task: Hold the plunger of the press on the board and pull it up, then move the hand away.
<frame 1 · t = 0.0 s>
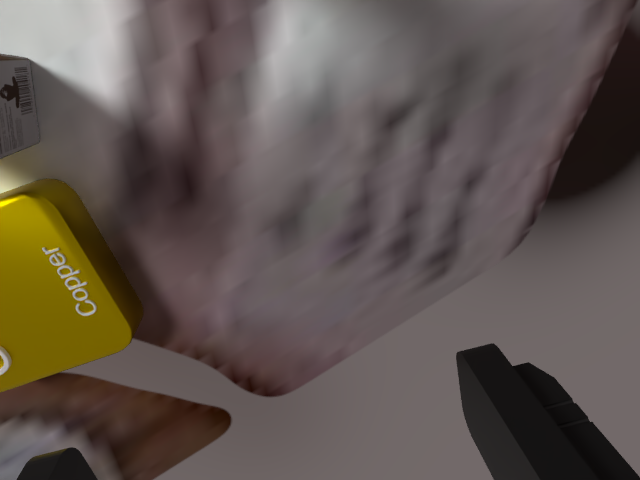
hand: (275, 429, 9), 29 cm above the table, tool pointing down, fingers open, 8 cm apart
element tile: (34, 276, 39), on the table
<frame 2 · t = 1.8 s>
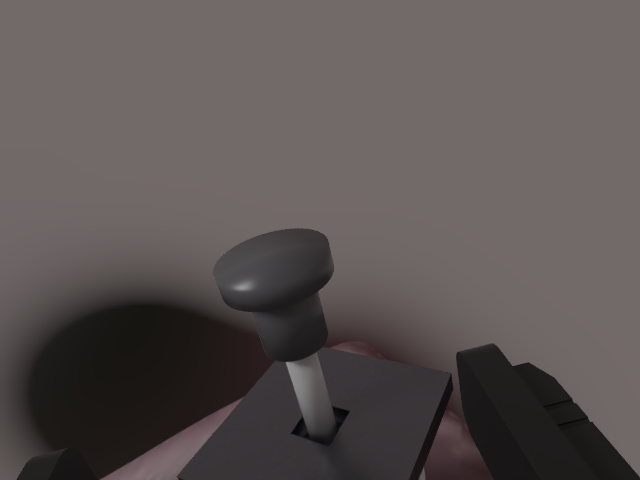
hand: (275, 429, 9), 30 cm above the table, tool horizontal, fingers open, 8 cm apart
plunger: (300, 353, 22), point 23 cm above the table, slide at 0.0 cm
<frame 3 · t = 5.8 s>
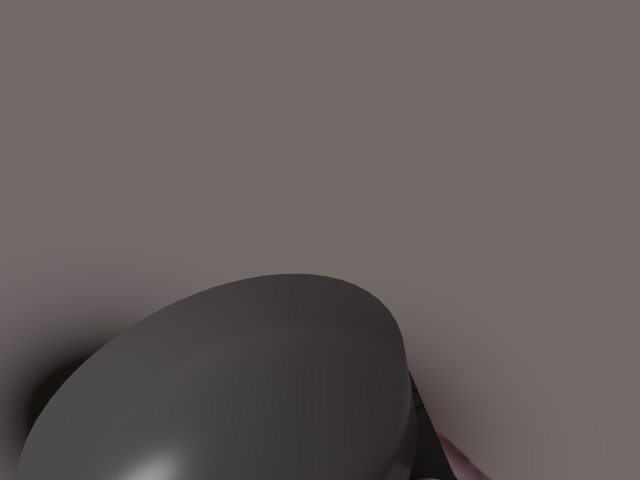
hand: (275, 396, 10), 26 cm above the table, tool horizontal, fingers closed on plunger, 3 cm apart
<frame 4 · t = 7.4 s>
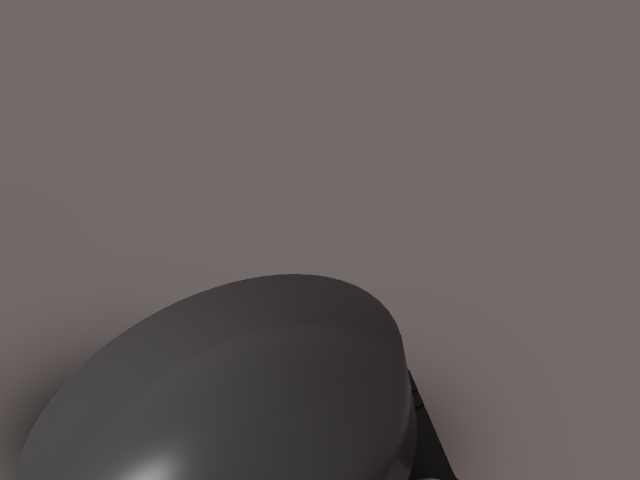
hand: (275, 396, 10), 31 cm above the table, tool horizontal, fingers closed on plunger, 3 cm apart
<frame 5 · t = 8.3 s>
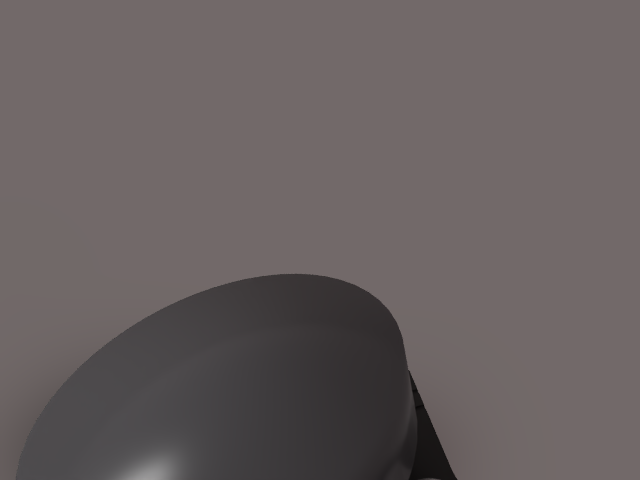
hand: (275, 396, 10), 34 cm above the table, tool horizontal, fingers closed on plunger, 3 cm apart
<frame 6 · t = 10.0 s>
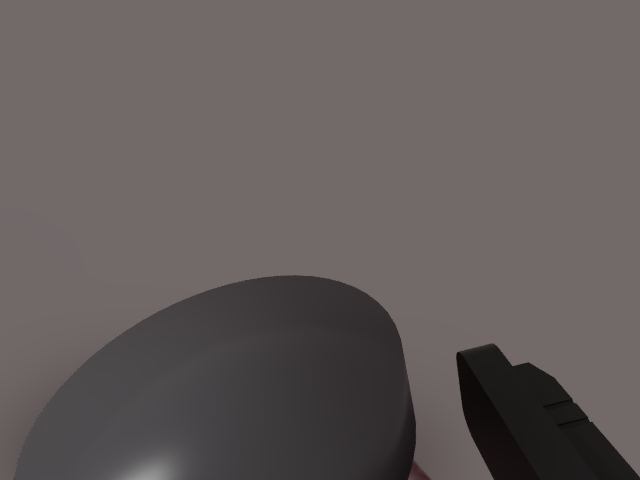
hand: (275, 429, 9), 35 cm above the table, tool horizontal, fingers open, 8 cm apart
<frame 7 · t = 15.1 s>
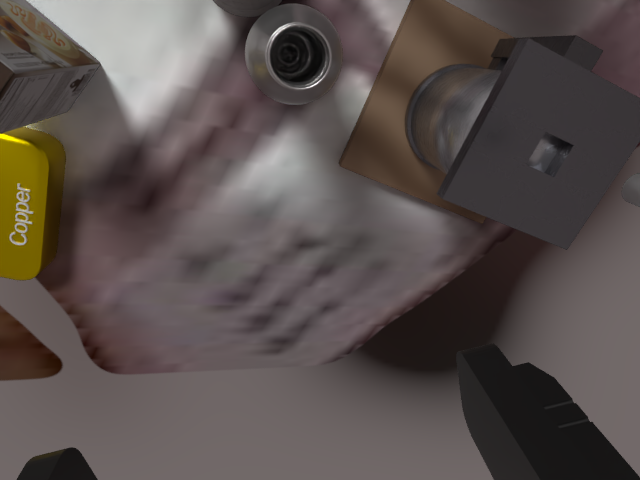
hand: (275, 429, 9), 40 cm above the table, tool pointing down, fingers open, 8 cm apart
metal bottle: (288, 54, 44), on the table
coffee box: (42, 54, 42), on the table
press: (498, 121, 38), on the board, point 10 cm above the table
board: (449, 116, 47), on the table
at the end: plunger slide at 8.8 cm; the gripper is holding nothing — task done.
